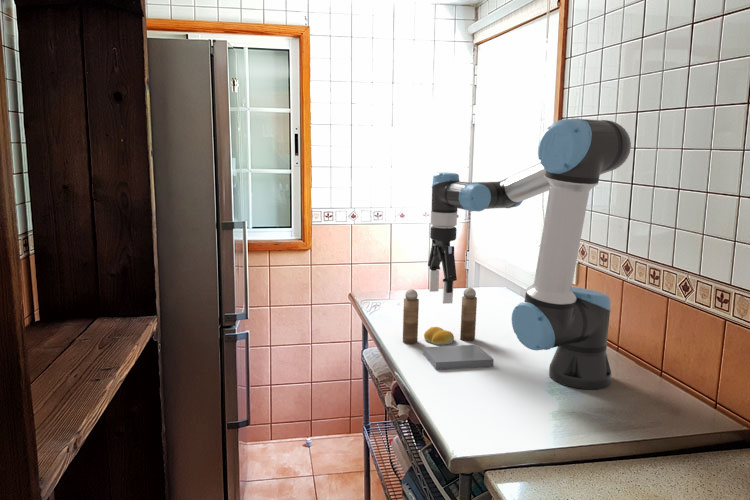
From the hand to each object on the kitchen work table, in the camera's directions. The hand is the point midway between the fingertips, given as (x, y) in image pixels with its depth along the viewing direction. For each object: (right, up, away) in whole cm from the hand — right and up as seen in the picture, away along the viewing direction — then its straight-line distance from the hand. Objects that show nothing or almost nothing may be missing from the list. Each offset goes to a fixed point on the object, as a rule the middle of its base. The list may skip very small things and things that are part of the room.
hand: (440, 297), depth 184 cm
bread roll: (0, -14, +2) cm, 14 cm away
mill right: (+9, -13, +4) cm, 16 cm away
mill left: (-9, -13, 0) cm, 16 cm away
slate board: (+3, -16, -14) cm, 22 cm away
